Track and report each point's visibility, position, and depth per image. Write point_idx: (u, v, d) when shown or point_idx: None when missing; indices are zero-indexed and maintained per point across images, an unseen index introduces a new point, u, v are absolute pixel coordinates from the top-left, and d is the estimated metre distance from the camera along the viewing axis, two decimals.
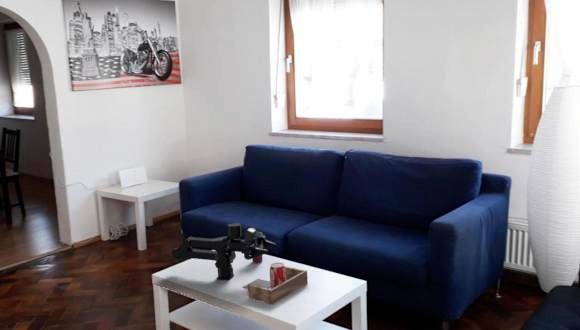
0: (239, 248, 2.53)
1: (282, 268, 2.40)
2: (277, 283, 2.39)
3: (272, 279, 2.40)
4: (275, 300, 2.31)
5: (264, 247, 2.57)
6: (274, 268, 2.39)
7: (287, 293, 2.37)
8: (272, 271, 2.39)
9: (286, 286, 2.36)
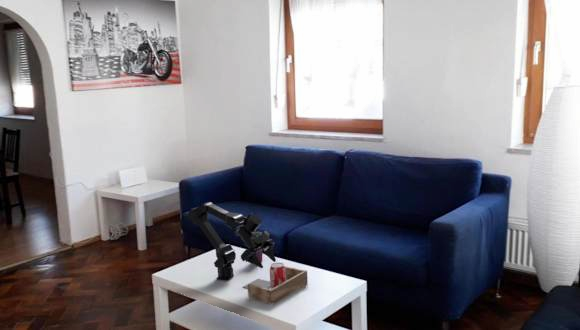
0: (244, 240, 2.47)
1: (282, 268, 2.40)
2: (277, 283, 2.39)
3: (272, 279, 2.40)
4: (275, 300, 2.31)
5: (265, 252, 2.51)
6: (274, 268, 2.39)
7: (287, 293, 2.37)
8: (272, 271, 2.39)
9: (286, 286, 2.36)
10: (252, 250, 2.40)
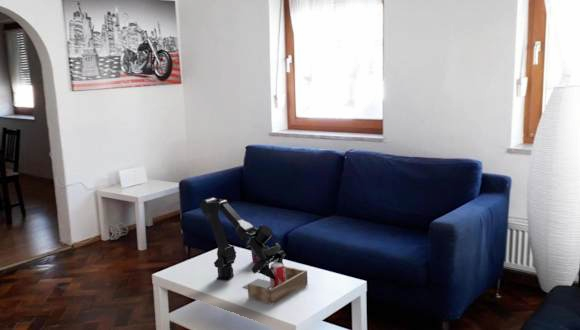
0: (255, 252, 2.44)
1: (282, 268, 2.40)
2: (277, 283, 2.39)
3: (272, 279, 2.40)
4: (275, 300, 2.31)
5: None
6: (274, 268, 2.39)
7: (287, 293, 2.37)
8: (272, 271, 2.39)
9: (286, 286, 2.36)
10: (263, 262, 2.37)
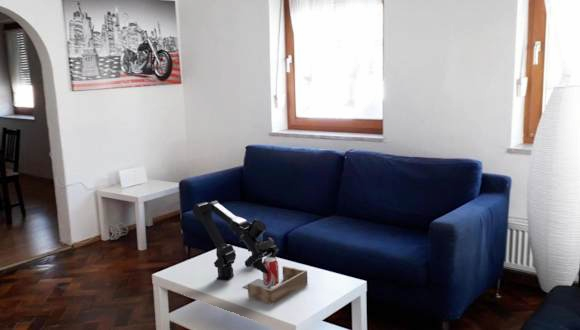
0: (248, 246, 2.46)
1: (275, 262, 2.42)
2: (270, 277, 2.41)
3: None
4: (275, 300, 2.31)
5: None
6: (267, 262, 2.41)
7: (287, 293, 2.37)
8: (265, 265, 2.41)
9: (286, 286, 2.36)
10: (256, 257, 2.39)
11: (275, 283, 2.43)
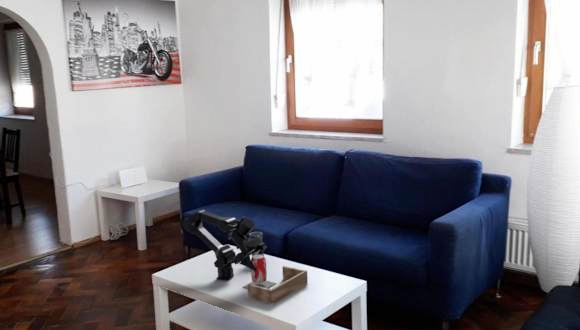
0: (237, 243, 2.50)
1: (263, 259, 2.46)
2: (258, 274, 2.45)
3: (253, 270, 2.46)
4: (275, 300, 2.31)
5: None
6: (255, 259, 2.45)
7: (287, 293, 2.37)
8: (253, 262, 2.45)
9: (286, 286, 2.36)
10: (244, 254, 2.43)
11: (263, 280, 2.47)
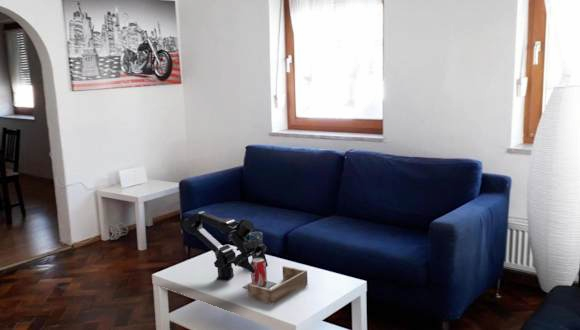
0: (237, 245, 2.50)
1: (262, 263, 2.46)
2: (258, 277, 2.46)
3: (253, 274, 2.46)
4: (275, 300, 2.31)
5: (258, 257, 2.54)
6: (255, 263, 2.45)
7: (287, 293, 2.37)
8: (253, 266, 2.46)
9: (286, 286, 2.36)
10: (244, 255, 2.43)
11: (263, 283, 2.47)
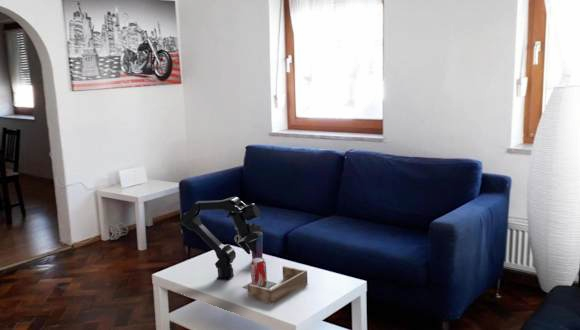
0: (242, 224, 2.51)
1: (262, 263, 2.46)
2: (258, 277, 2.46)
3: (253, 274, 2.46)
4: (275, 300, 2.31)
5: (241, 243, 2.58)
6: (255, 263, 2.45)
7: (287, 293, 2.37)
8: (253, 266, 2.46)
9: (286, 286, 2.36)
10: None
11: (263, 283, 2.47)
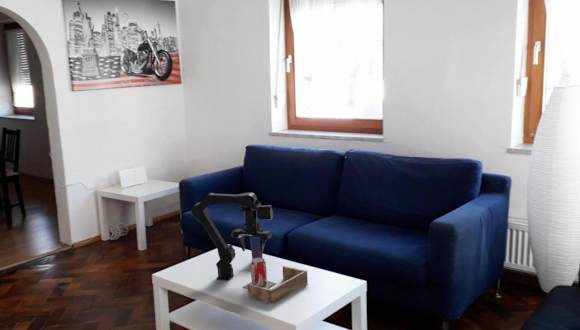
0: (256, 221, 2.53)
1: (262, 263, 2.46)
2: (258, 277, 2.46)
3: (253, 274, 2.46)
4: (275, 300, 2.31)
5: (240, 239, 2.57)
6: (255, 263, 2.45)
7: (287, 293, 2.37)
8: (253, 266, 2.46)
9: (286, 286, 2.36)
10: None
11: (263, 283, 2.47)
